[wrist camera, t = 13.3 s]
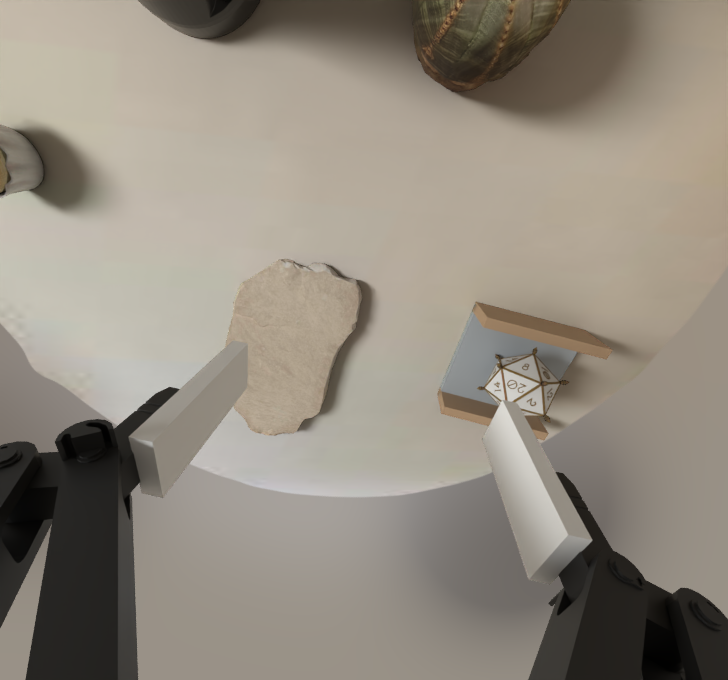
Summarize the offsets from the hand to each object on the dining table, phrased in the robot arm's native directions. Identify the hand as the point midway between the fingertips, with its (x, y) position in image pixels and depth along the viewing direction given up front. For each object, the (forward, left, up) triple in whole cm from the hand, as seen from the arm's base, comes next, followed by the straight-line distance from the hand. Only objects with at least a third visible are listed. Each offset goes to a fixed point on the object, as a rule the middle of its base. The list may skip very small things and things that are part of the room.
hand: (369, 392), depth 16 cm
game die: (+7, +19, -24) cm, 31 cm away
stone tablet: (+14, -12, -25) cm, 31 cm away
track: (+7, +18, -24) cm, 31 cm away
